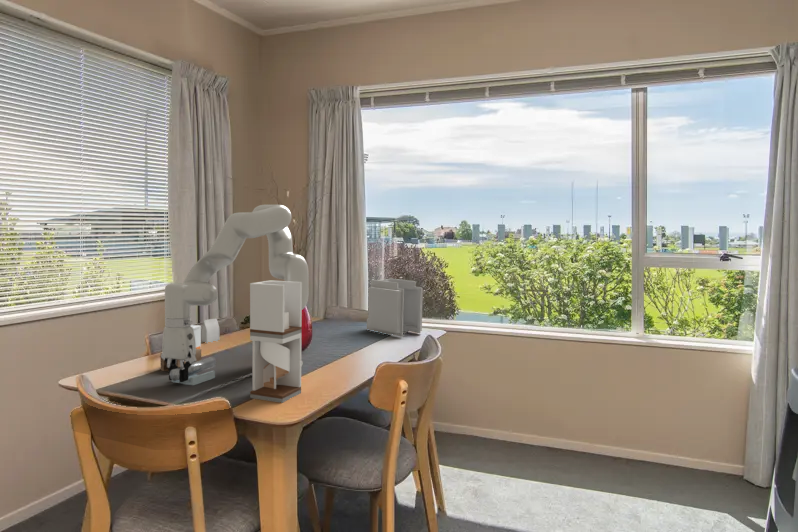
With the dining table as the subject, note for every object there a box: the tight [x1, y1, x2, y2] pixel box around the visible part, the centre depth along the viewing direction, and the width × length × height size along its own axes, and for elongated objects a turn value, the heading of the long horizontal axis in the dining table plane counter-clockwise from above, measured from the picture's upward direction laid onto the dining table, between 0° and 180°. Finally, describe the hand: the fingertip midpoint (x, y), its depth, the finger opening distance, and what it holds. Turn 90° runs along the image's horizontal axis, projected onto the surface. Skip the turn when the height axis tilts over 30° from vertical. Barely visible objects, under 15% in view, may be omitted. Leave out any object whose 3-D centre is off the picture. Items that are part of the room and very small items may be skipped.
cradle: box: [170, 370, 216, 386], centre depth 181 cm, size 9×10×4 cm
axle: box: [170, 356, 217, 381], centre depth 181 cm, size 17×4×4 cm, turn 157°
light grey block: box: [201, 318, 220, 344], centre depth 247 cm, size 4×7×10 cm, turn 146°
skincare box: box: [191, 324, 202, 350], centre depth 219 cm, size 6×4×12 cm
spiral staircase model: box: [249, 280, 303, 404], centre depth 170 cm, size 11×11×35 cm
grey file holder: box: [366, 277, 424, 337], centre depth 274 cm, size 17×27×26 cm, turn 44°
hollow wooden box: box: [159, 348, 202, 372], centre depth 196 cm, size 8×11×8 cm
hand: (178, 379), depth 175 cm, fingers closed on axle, 3 cm apart
